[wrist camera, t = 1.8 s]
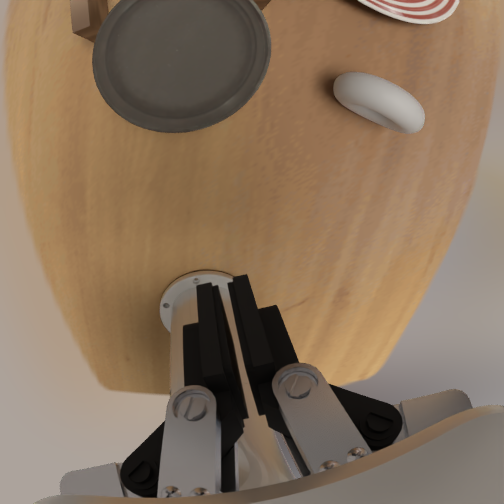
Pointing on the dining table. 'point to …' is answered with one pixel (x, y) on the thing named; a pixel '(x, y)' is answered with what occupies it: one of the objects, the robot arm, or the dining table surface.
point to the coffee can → (180, 61)
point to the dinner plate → (414, 9)
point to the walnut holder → (101, 16)
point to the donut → (379, 101)
